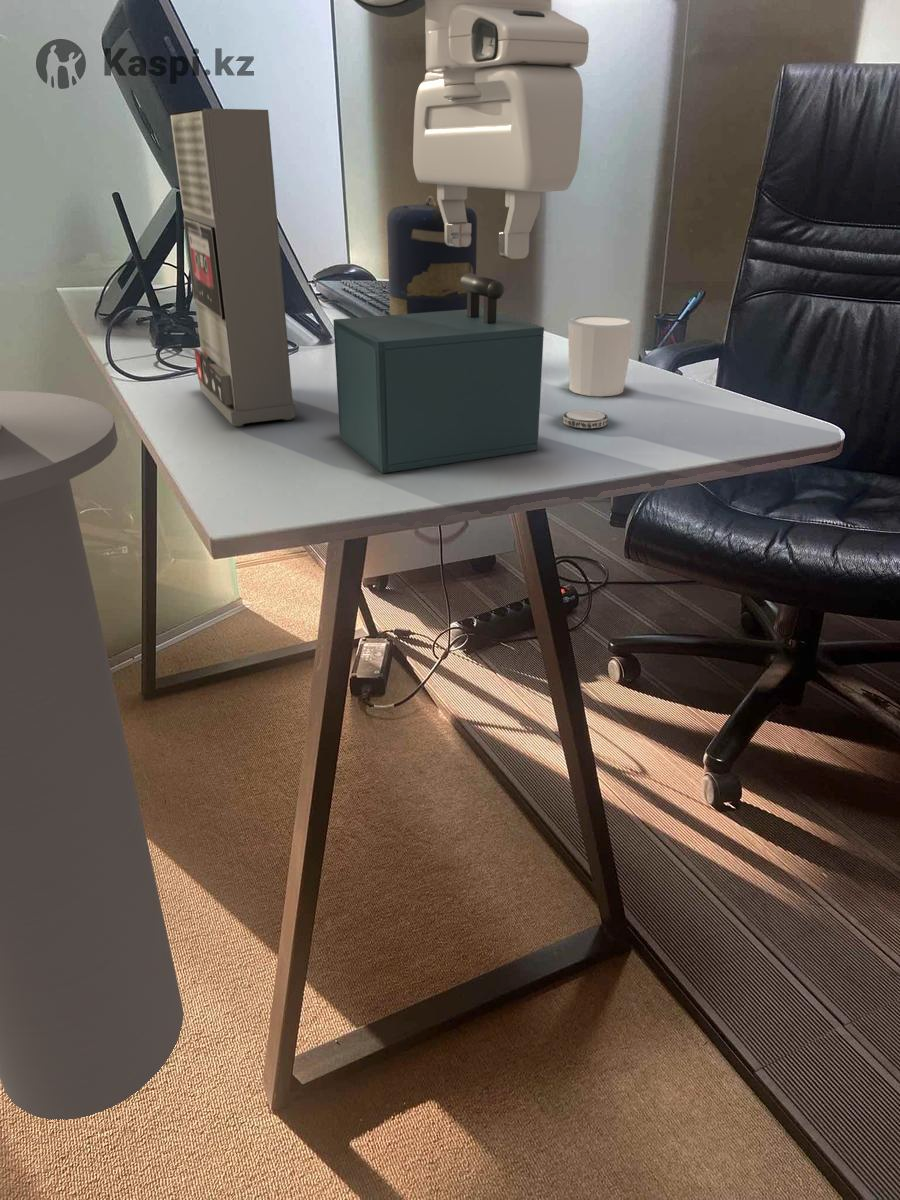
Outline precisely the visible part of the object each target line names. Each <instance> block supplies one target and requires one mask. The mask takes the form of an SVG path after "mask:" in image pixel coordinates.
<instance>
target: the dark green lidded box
mask: <svg viewBox="0 0 900 1200" xmlns="http://www.w3.org/2000/svg"><path fill="white" fill-rule="evenodd" d="M461 286H462V288H463V289H464V290H465V291H467V309H465V310H452V311H439V312H426V313H412V314H399V315H390V314H389V315H388V314H387V315H374V316H363V317H362V316H361V317H349V318H348V317H347V318H333V335H334V336H333V337H334V338H333V339H334V355H335V370H336V371H335V372H336V389H337V407H338V423H339V439H340V440H341V441H343V442H344V443H345V444H346V445H347V446H348V447H350V448H351V449H352V450H353V451H355V452H356V453H357V454H358V455H359V456H361V457H362V458H363V459H364V460H366V461H367V462H368V464H370V465H371V466H372V467H374V468H375V469H376V470H377V471H378V472H380V473H381V474H388V473H393V472H394V473H395V472H400V471H408V470H414V469H421V468H427V467H434V466H440V465H447V464H454V463H461V462H468V461H474V460H480V459H487V458H494V457H501V456H506V455H513V454H519V453H526V452H533V451H538V443H539V429H540V412H541V411H540V409H541V389H542V374H543V372H542V371H543V356H544V355H543V354H544V338H545V337H544V335H545V333H544V332H545V327H544V326H541V325H538V324H535V323H531V322H529V321H525V320H523V319H520V318H516V317H513V316H510V315H508V314H504V313H501V312H499V311H498V310H497V308H498V307H497V305H498V300H499V299H501V298H502V297H503V296H504V294H505V286H504V284H503V283H502V282H501V281H500V280H496V279H493V278H491V277H490V278H489V277H486V276H481V275H478V274H476V275H475V274H471V273H468V274H465V275H464V276H463V277H462V278H461ZM480 296H481V297H483V307H480Z"/></svg>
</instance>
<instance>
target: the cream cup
mask: <svg viewBox="0 0 900 1200" xmlns="http://www.w3.org/2000/svg"><path fill="white" fill-rule="evenodd" d="M636 325H637V322H636V321H634V320H633V319H629V318H625V317H619V316H611V315H583V316H576V317H572V318H569V319H568V321H567V335H568V339H567V340H568V381H569V383H568V384H569V385H568V386H569V391H571V392H572V393H575V394H578V395H582V396H588V397H612V396H617V395H620V394H623V393H624V389H625V383H626V377H627V373H628V367H629V363H630V357H631V352H632V348H633V347H632V346H633V341H634V336H635V331H636V327H637V326H636Z"/></svg>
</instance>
